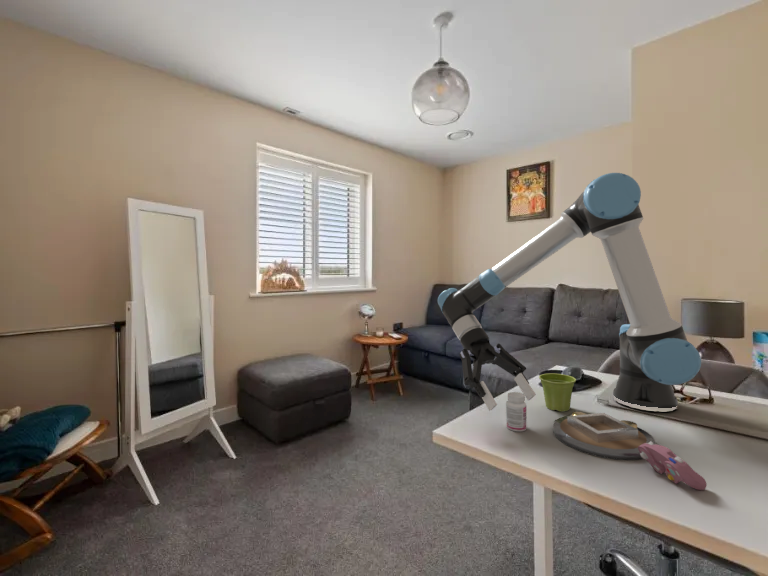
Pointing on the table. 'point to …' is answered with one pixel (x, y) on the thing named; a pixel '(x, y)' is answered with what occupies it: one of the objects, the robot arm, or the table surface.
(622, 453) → the carrier disc
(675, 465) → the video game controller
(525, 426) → the pill bottle
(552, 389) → the plant pot
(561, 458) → the table surface
